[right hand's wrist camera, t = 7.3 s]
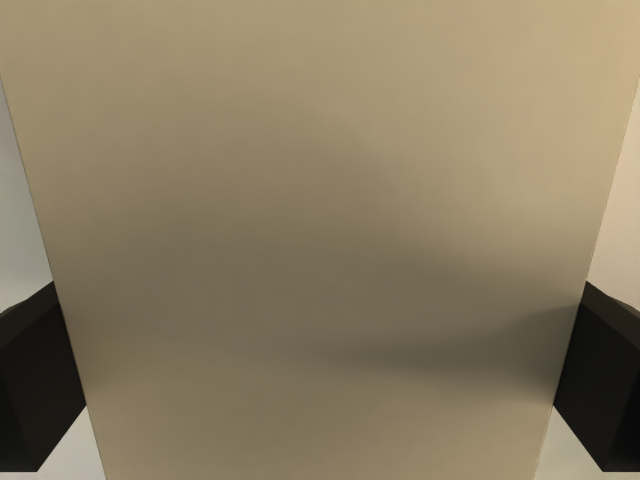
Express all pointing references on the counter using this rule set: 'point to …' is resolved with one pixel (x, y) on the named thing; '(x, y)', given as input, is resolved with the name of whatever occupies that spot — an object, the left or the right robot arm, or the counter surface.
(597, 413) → the right robot arm
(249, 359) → the cabinet
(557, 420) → the counter surface
